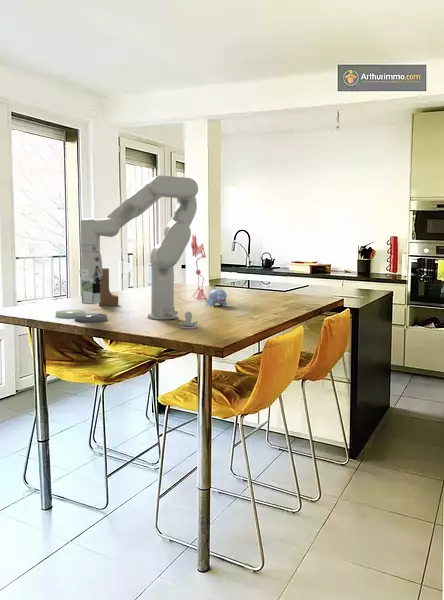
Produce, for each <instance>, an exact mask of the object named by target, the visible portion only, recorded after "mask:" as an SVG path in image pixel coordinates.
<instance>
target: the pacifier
mask: <svg viewBox="0 0 444 600" xmlns="http://www.w3.org/2000/svg"><path fill="white" fill-rule="evenodd" d="M184 318H185V322H181V321H178V323H179V324H180V328H181V329H186V330H187V329H190V330H191V329H196V328H197V326H196V325H197V324H198V321H193V322H192V318H193V314H192V312H191V311H186V312H185V313H184Z"/></svg>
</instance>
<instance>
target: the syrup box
mask: <svg viewBox="0 0 444 600" xmlns="http://www.w3.org/2000/svg"><path fill="white" fill-rule="evenodd" d="M80 270H81V275H80V281H81V304H84V305H97V304H98V305H99V303H100V293H93V280H92V277H90V276H89V272H88V270H87V269H84V268H83V269H81V268H80ZM94 276H96V275H95V274H94ZM95 280H96V278H95Z"/></svg>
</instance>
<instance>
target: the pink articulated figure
mask: <svg viewBox="0 0 444 600" xmlns="http://www.w3.org/2000/svg"><path fill="white" fill-rule="evenodd" d="M191 235H192V238H191V239H192V241H191V242H190V247H191V250H192V251H191V253H192V254H191V255H192V257H194V258H197V256H198V255H200V254H201V256H200V257H199V258H197V259H196V260H195V265H196V270H195V274H196V275H197V276H198V278H197V279H198V280H197V290H195V292H194V293H193V295H192V298H194V296H196V294H197V298H196V299H197V301H199V300H200V299H201V298H203V297H204V299H205V301H208V299H207V297H206V295H205V293H204V289H203V285H204V279H205V277H203V275H201V273H202V272H201V270H200V269H199V268H198V261H199V260H200V259H206V258H207V257H206V251H205V247H204V244H203V243H201V244H200V245H199V246H198V243H197V242H198V241H197V236H196V235H197V234H191ZM200 277H201V278H202V283H201V286H199V285H200ZM179 300H181V301H183V302H184V301H185V302H186V300H184V299H181V298H179Z"/></svg>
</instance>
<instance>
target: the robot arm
mask: <svg viewBox="0 0 444 600" xmlns="http://www.w3.org/2000/svg"><path fill="white" fill-rule="evenodd" d="M198 192H199V185H198V183H197V181H196V179H195V180H194V179H193V178H191V177H184V176H169V175H156V176H154V177H152V178H150V179H149V180H147V181H146V182H145V183H144V184H143V185H142V186H141V187H139V188H138V189H137V190H136V191H135V192H133V193H132V194H131V195H129V197H127V198H126V199H125V200H124V201H123V202H122V203H121V204H120V205H119V206H117V207H116V208H115V209H113V210H112V211H111V212H110V213H109V214H108V215H106V217H104V218H102V219H101V218H100V219H99V218H98V219H97V218H93V217H92V218H88V217H87V218H86V217H85V218H84V217H83V218H82V219H81V220H80V254H81V255H80V269H79V275H80V276H81V269H83V268H84V269H87V270H88V272H89V276H90V277H92V280H93V293H100V283H101V279H102V276H103V274H102V268H103V261H102V254H101V237H107V238H113V237H115V236H117V235H118V234H119V232H120V229H121V228H123V227H124V226H125V225H126V224H127V223H129V222H130V221H132V220H133V219H136V218H137V217H140V216H141V215H142V214H144V213H145V212H146V211H147V210H148V209H150V207H151V206H153V205H155V203H156V202H157V201H159V200H160V199H161V198H163V197H164V198H171V199H176V201H177V202H176V207H175V209H174V212H173V214H172V216H171V218H170V219H169V221H168V222H167V224H166V226H165V227H164V228H165V229H164V230H163V231H164V232H163V235H164V238H163V241H162V242H161V243H158V244H156V245H154V247H153V248H152V250H151V252H150V268H151V296H150V297H151V300H150V301H151V307H150V308H151V310H150V311H151V313H148V314H147V318H148V319H152V320H160V321H161V320H174V319H177V318H178V314H179V312H178V311H176V310H175V309H176V308H175V306H174V305H175V304H174V303H175V299H174V298H175V294H174V293H175V270H174V269H175V268H174V266H176V264H178V262H179V260H180V259H181V257H182V255H183V253H184V251H185V250H186V247H187V246H188V244H189V242H190V239H191V235H192V232H191V231H192V230H191V228H190V227H191V224H192V222H193V220H194V218H195V216H196V213H197V210H198V209H197V208H198V204H197V203H198V202H197V197H196V196H197V194H198ZM94 274H95V275H96V276H94ZM95 278H96V280H95Z"/></svg>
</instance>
